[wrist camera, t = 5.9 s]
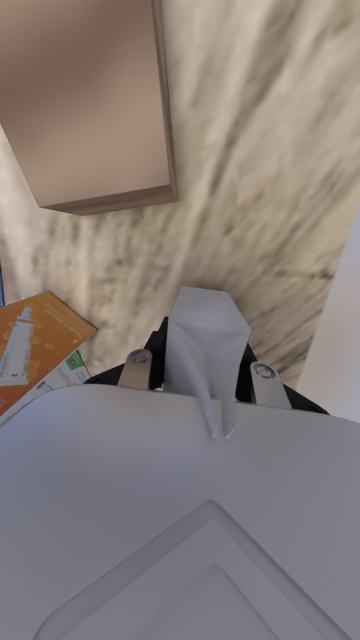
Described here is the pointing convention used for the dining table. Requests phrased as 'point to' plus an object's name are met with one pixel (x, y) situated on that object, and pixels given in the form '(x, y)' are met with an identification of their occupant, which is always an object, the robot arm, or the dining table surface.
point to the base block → (88, 102)
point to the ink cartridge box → (1, 294)
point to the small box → (35, 344)
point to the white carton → (206, 351)
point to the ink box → (58, 379)
